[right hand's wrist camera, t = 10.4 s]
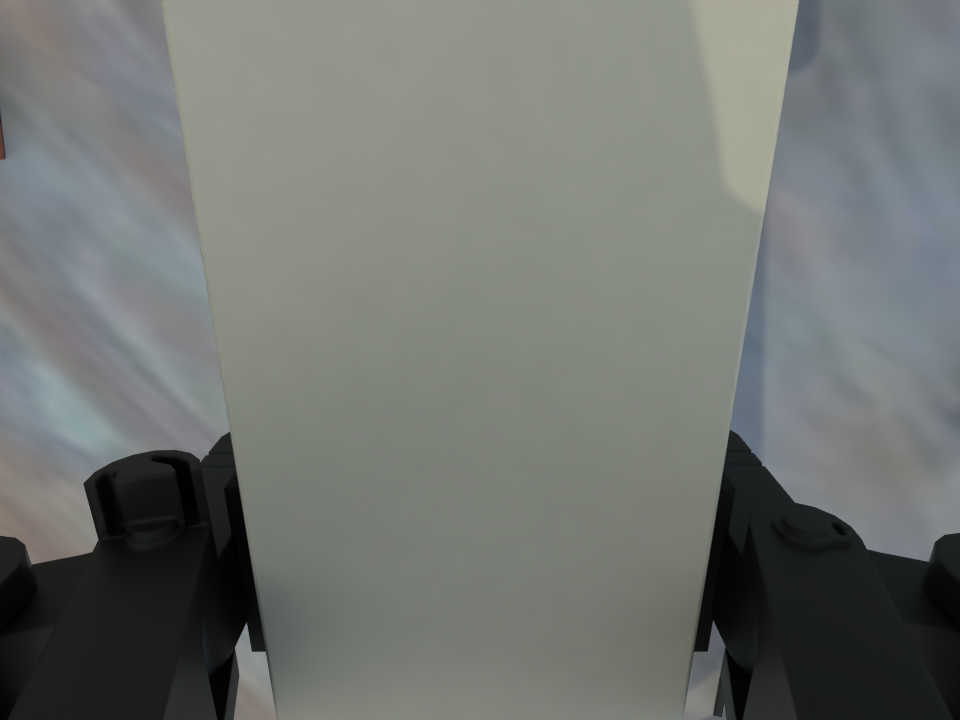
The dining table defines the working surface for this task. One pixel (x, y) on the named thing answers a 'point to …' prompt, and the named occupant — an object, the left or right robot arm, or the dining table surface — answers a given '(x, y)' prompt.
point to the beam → (479, 333)
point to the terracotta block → (1, 145)
